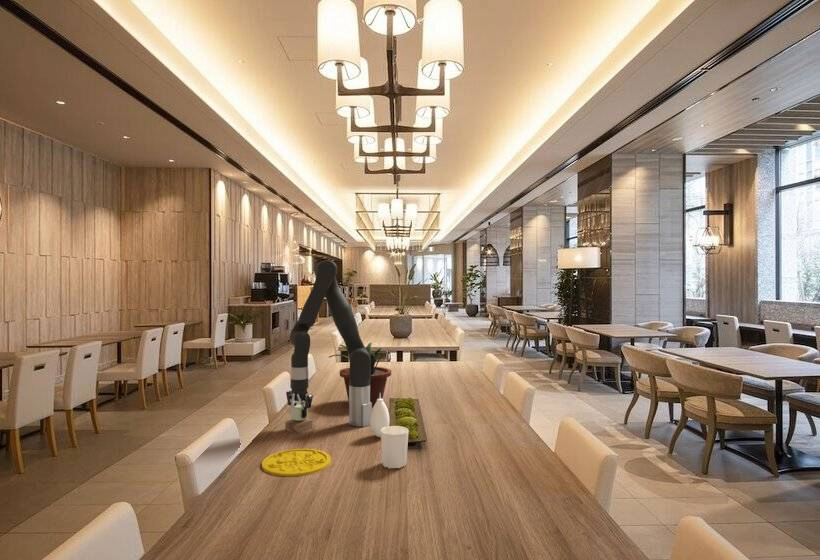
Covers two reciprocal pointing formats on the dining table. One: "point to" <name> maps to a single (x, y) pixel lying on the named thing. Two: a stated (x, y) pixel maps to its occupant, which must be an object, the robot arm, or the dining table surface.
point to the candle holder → (394, 446)
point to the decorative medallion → (296, 462)
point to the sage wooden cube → (297, 413)
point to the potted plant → (377, 376)
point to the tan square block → (298, 425)
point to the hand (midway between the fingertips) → (299, 416)
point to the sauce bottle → (379, 417)
